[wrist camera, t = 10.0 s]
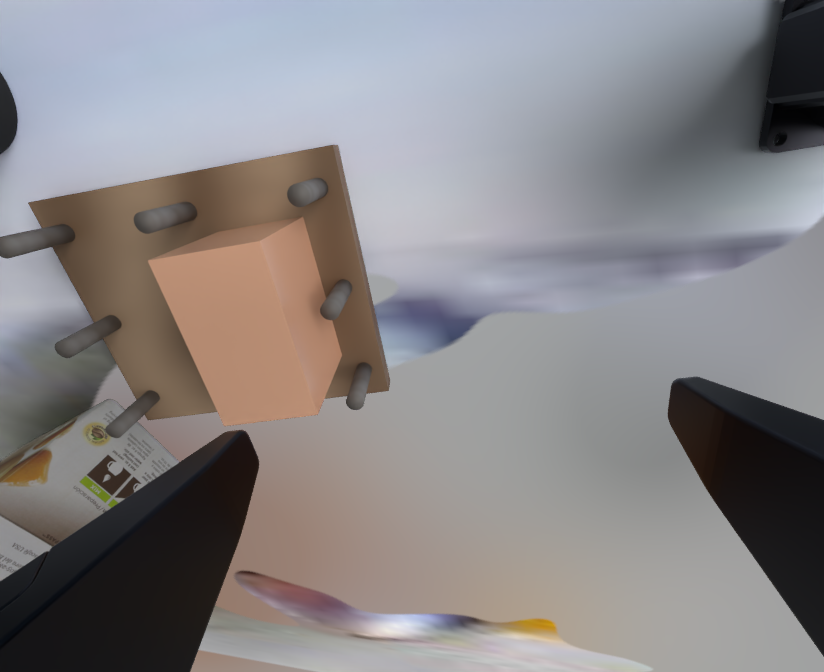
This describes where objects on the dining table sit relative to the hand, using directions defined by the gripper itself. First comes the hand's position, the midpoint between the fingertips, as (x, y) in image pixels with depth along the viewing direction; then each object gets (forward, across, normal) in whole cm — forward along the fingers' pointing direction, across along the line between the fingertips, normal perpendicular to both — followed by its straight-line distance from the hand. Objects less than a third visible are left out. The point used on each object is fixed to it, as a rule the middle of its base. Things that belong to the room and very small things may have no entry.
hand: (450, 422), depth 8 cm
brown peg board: (+12, +10, 0) cm, 16 cm away
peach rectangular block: (+11, +8, 0) cm, 13 cm away
